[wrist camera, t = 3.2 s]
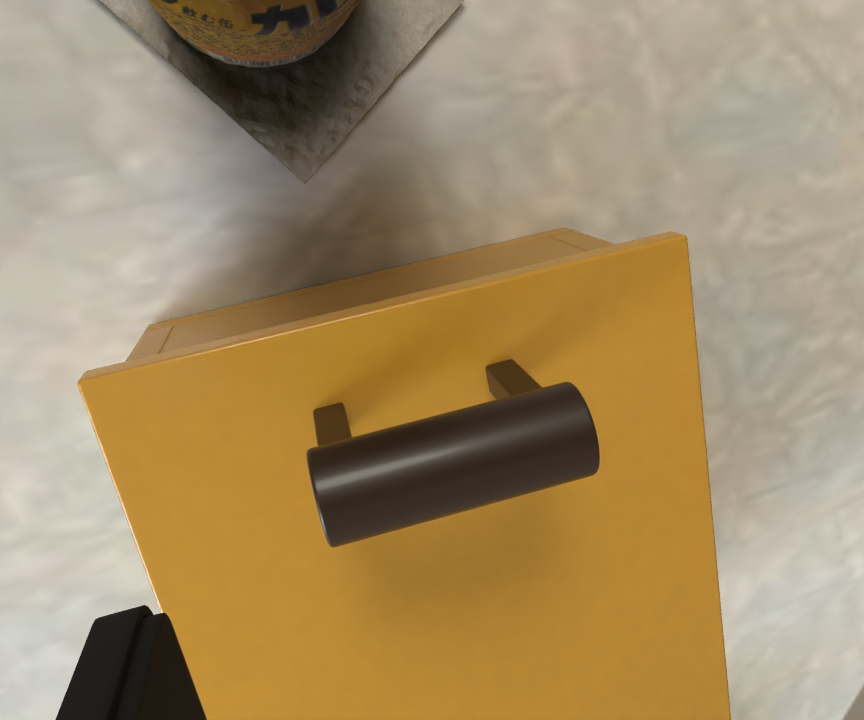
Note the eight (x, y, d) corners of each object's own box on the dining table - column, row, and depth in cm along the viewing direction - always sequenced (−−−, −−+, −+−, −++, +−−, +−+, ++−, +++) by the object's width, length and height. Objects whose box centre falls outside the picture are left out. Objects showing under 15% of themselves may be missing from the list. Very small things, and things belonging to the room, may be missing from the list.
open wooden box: (148, 324, 24) (96, 403, 17) (565, 226, 26) (673, 262, 19) (278, 722, 29) (279, 909, 22) (620, 618, 31) (722, 760, 24)
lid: (83, 370, 17) (0, 475, 12) (671, 229, 18) (822, 267, 13) (279, 910, 22) (280, 1145, 17) (723, 762, 24) (845, 934, 19)
